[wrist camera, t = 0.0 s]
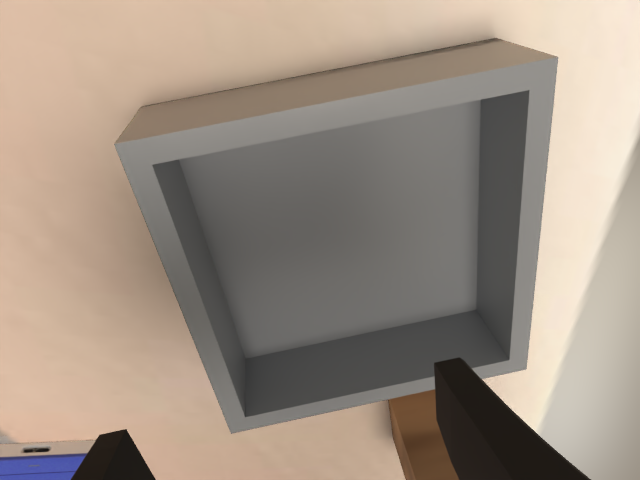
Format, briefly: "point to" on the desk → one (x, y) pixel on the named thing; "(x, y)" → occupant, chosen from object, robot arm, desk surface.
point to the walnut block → (420, 438)
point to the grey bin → (351, 224)
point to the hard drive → (41, 459)
